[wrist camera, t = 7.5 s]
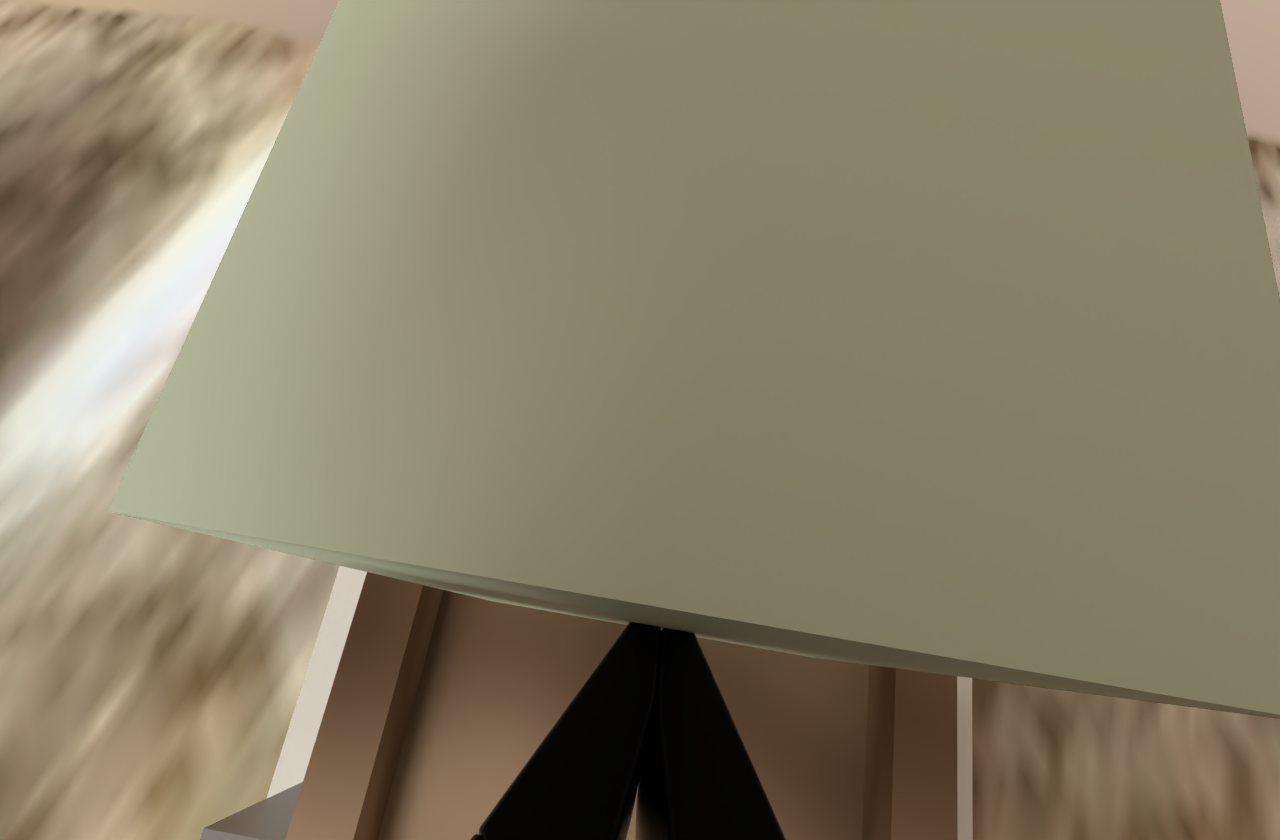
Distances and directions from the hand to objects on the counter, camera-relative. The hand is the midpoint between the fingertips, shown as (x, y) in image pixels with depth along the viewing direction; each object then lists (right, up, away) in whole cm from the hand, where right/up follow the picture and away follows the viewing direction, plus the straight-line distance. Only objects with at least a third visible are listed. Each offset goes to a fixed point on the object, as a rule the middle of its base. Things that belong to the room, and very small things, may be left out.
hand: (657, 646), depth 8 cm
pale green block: (0, +2, +4) cm, 5 cm away
